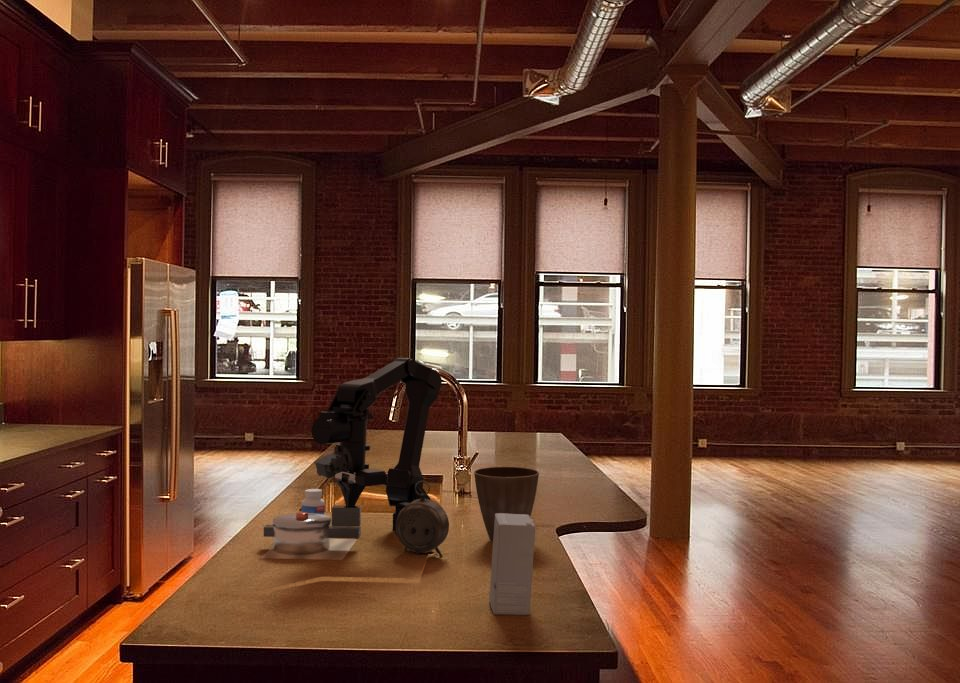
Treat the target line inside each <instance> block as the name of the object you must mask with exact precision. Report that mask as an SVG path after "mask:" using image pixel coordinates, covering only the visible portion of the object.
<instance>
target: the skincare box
mask: <svg viewBox="0 0 960 683" xmlns="http://www.w3.org/2000/svg"><path fill="white" fill-rule="evenodd" d="M533 521H534V519H533V518H531V516H529V515H525V514H507V513H496V514H495V523H494V537H493V542H492V551H491V553H492V554H491V567H490V583H489V584H490V585H489V595H488V597H489V598H488V599H489V604H490V607H491V611H492V613H493V615H517V616H519V615H520V616H522V615H523V616H525V615H530V614H531V601H532V600H531V599H532V598H531V597H532V584H533V583H532V582H533V568H534V554H535V542H536V540H535V538H536V525H535V524H534V522H533Z"/></svg>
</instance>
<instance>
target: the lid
mask: <svg viewBox="0 0 960 683" xmlns="http://www.w3.org/2000/svg"><path fill="white" fill-rule="evenodd" d="M361 522H362V505H355V506H346V505H332V506H331V516H330V515H327V514H325V513H324V514H316V513H307V512H301V511H299V512H296V513H288V514H283V515H282V514H281V515H278V516H274V518H272V525H273V526H274V527H277V528H281V529H288V530H308V529H317V528H323V527H326V526H329V525H330V526H355V527H361V524H362V523H361Z"/></svg>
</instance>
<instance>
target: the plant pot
mask: <svg viewBox="0 0 960 683" xmlns="http://www.w3.org/2000/svg"><path fill="white" fill-rule="evenodd" d="M473 474H474V476H473V477H474V481H475V488H476V494H477V495H476V496H477V500H478V505H479V508H480V509H479V510H480V514H481V518H482V520H483V523H484V527H485V529H486V532H487V536H488V537H489V540H490V542H491V543H493V537H494V523H495V514H496V513H507V514H525V515H529V516H530V517H531V516H532V513H533V509H534V504H535V500H536V495H537V489H538V482H539V476H540V471H538V470H536V469H532V468H527V467H520V466H519V467H517V466H495V467H494V466H492V467H491V466H490V467H481V468H478V469H475V470H474V471H473Z"/></svg>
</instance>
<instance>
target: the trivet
mask: <svg viewBox="0 0 960 683" xmlns="http://www.w3.org/2000/svg"><path fill="white" fill-rule="evenodd" d="M357 540H358V539H355V538H330V549H328V550H327V551H324V552H321V553H316V554H308V555H288V554H281V553H278V552H275V551H274V550H273V546H272V547H271V548H269V550H267V552H265V553H264V554H263V555H262V556H261V557H260V559H280V560H281V559H282V560H283V559H285V560H286V559H287V560H289V559H290V560H324V561H325V560H330V561H331V560H334V561H335V560H336V561H342V560H344V558H346V556H347V555H348V553H349V552H350V550H351V549H352V547H353V546H354V545H355V544H356V542H357Z"/></svg>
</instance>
